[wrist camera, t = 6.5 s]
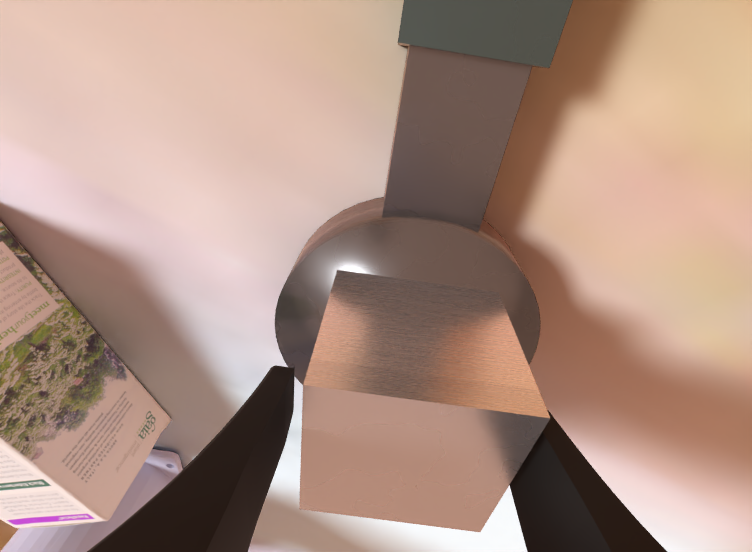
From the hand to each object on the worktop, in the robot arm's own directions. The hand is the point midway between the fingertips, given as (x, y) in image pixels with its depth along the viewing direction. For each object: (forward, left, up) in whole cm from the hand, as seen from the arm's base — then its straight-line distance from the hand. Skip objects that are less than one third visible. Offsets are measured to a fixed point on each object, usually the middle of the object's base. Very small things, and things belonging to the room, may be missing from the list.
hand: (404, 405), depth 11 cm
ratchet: (+5, 0, -5) cm, 8 cm away
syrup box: (+2, +20, -2) cm, 20 cm away
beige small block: (0, 0, -3) cm, 3 cm away
